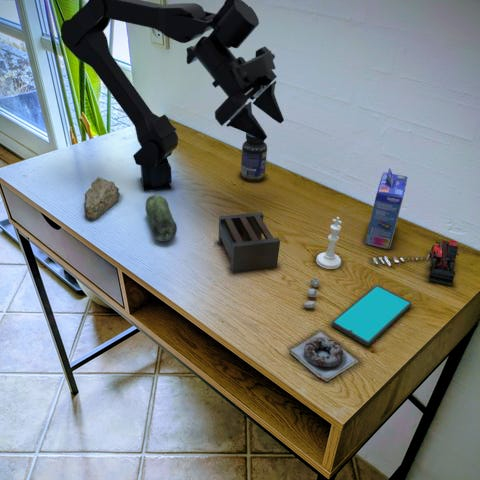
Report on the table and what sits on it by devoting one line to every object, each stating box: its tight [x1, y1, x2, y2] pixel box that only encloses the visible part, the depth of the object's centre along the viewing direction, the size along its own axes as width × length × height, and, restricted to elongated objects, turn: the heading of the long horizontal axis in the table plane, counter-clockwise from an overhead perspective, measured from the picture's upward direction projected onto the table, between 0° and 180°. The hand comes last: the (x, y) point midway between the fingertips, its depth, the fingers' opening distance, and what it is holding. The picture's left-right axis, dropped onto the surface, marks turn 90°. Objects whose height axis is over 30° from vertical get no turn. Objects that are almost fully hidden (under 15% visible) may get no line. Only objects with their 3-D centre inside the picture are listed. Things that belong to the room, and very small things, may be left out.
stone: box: [83, 176, 121, 221], centre depth 108 cm, size 14×7×5 cm, turn 169°
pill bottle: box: [240, 132, 268, 182], centre depth 121 cm, size 6×6×11 cm
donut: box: [289, 331, 359, 382], centre depth 77 cm, size 8×8×2 cm
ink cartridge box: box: [365, 167, 408, 250], centre depth 102 cm, size 10×6×14 cm, turn 161°
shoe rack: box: [217, 211, 281, 274], centre depth 97 cm, size 9×11×6 cm
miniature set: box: [372, 253, 430, 267], centre depth 99 cm, size 3×12×2 cm, turn 104°
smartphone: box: [331, 284, 412, 347], centre depth 86 cm, size 7×1×15 cm
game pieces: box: [303, 276, 320, 309], centre depth 89 cm, size 8×2×2 cm
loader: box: [428, 237, 460, 287], centre depth 97 cm, size 12×5×5 cm, turn 162°
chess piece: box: [315, 216, 343, 270], centre depth 95 cm, size 5×5×10 cm
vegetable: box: [145, 194, 178, 242], centre depth 102 cm, size 14×5×5 cm
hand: (274, 130), depth 100 cm, fingers open, 9 cm apart
